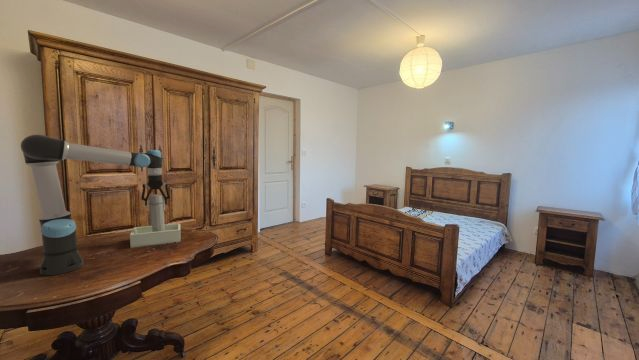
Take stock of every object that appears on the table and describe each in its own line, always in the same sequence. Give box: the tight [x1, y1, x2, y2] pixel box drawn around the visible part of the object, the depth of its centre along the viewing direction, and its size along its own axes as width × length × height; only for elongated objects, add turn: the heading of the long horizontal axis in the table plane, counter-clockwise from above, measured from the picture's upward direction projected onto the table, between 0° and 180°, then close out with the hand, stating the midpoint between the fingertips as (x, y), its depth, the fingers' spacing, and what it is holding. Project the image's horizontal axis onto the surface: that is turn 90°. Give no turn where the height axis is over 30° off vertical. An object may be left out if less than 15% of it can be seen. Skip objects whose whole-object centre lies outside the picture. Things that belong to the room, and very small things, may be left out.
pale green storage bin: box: [129, 222, 182, 249], centre depth 169 cm, size 26×16×8 cm, turn 118°
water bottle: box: [149, 193, 166, 232], centre depth 168 cm, size 9×8×25 cm
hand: (156, 210), depth 167 cm, fingers closed on water bottle, 8 cm apart
